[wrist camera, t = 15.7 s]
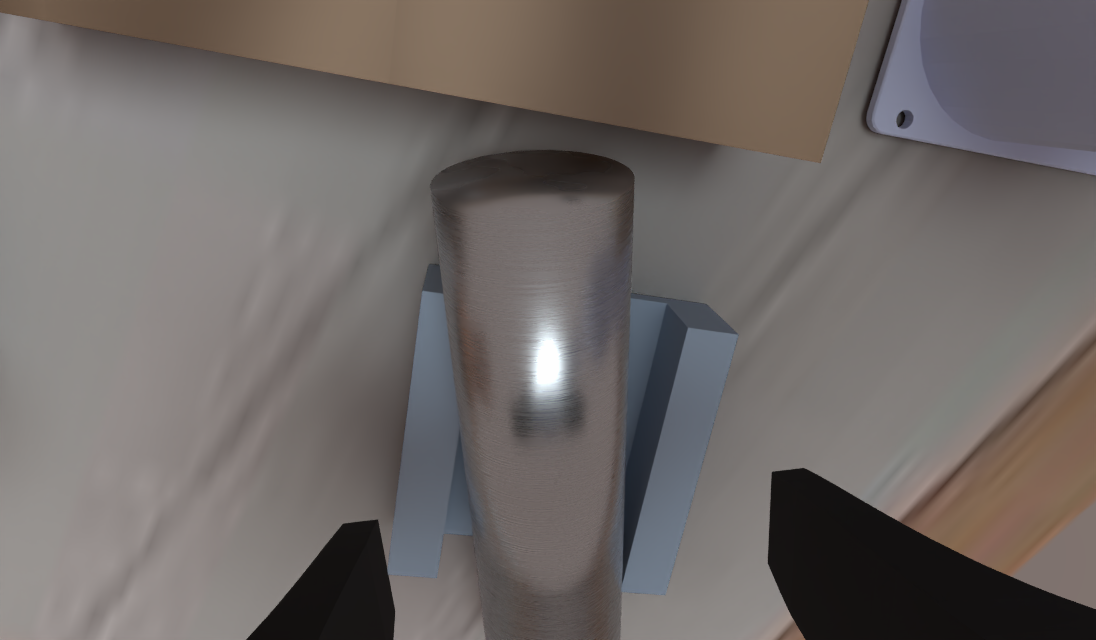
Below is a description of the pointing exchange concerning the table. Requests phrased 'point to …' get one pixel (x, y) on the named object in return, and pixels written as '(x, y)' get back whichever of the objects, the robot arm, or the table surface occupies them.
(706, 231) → the table surface
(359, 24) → the beam
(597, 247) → the axle
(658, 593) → the cradle
